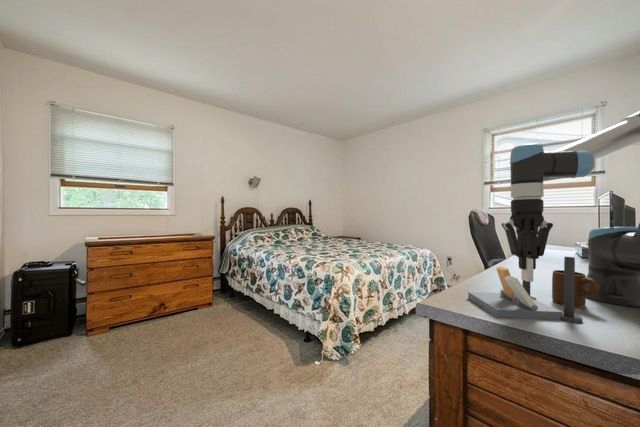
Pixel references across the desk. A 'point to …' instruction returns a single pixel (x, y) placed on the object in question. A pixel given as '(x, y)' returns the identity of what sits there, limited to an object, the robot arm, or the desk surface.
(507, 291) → the paddle
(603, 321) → the desk surface
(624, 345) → the desk surface
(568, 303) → the post
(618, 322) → the desk surface
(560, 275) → the mug
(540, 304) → the panel
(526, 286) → the post
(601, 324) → the desk surface
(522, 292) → the paddle
